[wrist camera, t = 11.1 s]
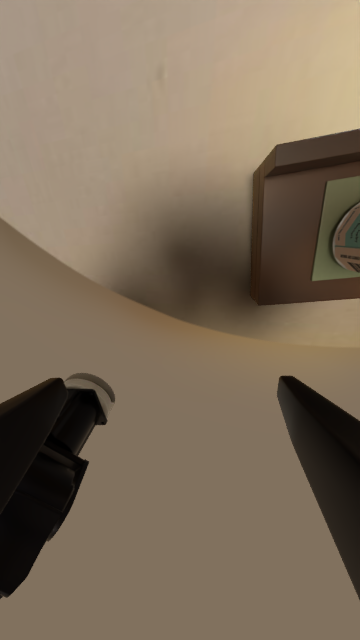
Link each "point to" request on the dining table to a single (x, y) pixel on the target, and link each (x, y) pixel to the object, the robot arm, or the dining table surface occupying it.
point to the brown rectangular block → (304, 220)
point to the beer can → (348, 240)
